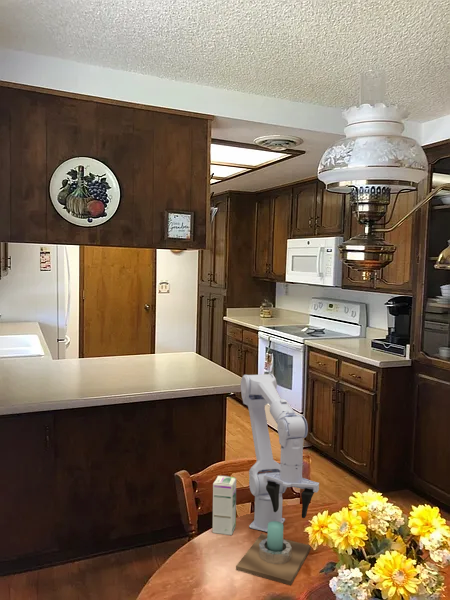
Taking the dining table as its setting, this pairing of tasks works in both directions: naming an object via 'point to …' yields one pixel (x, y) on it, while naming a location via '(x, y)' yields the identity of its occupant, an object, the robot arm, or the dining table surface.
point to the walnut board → (274, 571)
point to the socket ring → (275, 553)
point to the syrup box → (224, 505)
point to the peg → (275, 536)
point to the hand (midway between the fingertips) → (289, 513)
